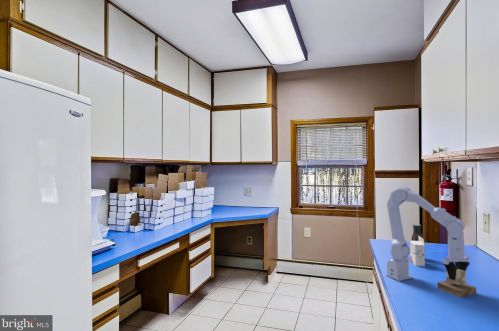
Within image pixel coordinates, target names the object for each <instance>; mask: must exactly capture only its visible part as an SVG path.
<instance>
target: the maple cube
mask: <svg viewBox="0 0 499 331" xmlns="http://www.w3.org/2000/svg"><path fill="white" fill-rule="evenodd" d="M466 271H467V270H466ZM466 271H462V270H459V269H457V271H456V278H455V280H452V279H449V275H448V272H447V270H446V273H445V274H446V280H447V281H449V282H451V283H454V284H457V285H460V284H464V283H465V284H467V272H466Z"/></svg>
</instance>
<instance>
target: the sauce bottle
mask: <svg viewBox="0 0 499 331" xmlns="http://www.w3.org/2000/svg"><path fill="white" fill-rule="evenodd" d="M412 228H413V232H412V234H411V235H412V236H411V238H410V239H411V240H410V241H419V237H418V236H420V237H421V238H422V239H424V236H423V234H422V231H421V229H422V225H421V224H417V223H416V224H415V223H413V224H412ZM421 241H422V240H421Z"/></svg>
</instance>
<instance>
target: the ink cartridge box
mask: <svg viewBox="0 0 499 331" xmlns="http://www.w3.org/2000/svg"><path fill="white" fill-rule="evenodd" d="M418 237H419V241H411V240H409V245H410V247H409V248H410V253H409V255H410V258H409V259H410V262H411V263H412V264H413V265H414V266H415V267H426V263H425V262H426V257H425V255H426V254H425V250H426V249H425V240H424V238H423V239H422V238H421V237H420V236H418ZM421 240H422V241H421Z"/></svg>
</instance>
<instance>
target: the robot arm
mask: <svg viewBox="0 0 499 331" xmlns="http://www.w3.org/2000/svg"><path fill="white" fill-rule="evenodd" d="M404 202H408V203H409V202H410V203H415V204H416V205H417V206H419V207H420V208H422V209H423V210H425V211H427V212H428V213H429V214H430V216H431V217H430V218H432V219H434V220H435V221H436V222H438V223H439V224H440V225H441V226H443V227H445V228H446V230H447V232H448V233H447V234H448V236H447V254H448V255H447V256H446V257H444V258H442V265H443V266H444V267H445V269H446V270H447V272H448V275H449V279H452V280H455V278H456V271H457V269H459V270H462V271H467V268H468V267H469V266H470V255H467V254H465V237H464V236H465V234H464V230H465V227H466V224H465V222H464V221H463V220H462V219H460V218H457V217H456V216H455V215H452V214H450V213H449V212H447V209H445V208H444V207H443V208H442V207H435V206H434V205H433V204H432V203H430V202H429V201H428V200H426V199H424V197H423V196H421V195H419V194H418V193H417V192H416V191H414V190H412V189H411V188H410V187H407V186H403V187H398V188H395V189H393V190H392V191H391V192H390V194H389V198H388V200H387V203H386V206H387V212H388V218H389V225H390V233H391V237H392V241H391V244H390V246H391V249H390V255H391V259H389V260H388V261H387V263H386V269H387V270H386V273H387V274H386V273H385V276H387V277H389V278H391V279H393V280H396V281H399V282H400V281H405V280H411V279H413V278H414V276H412V275H409V274H410V273H409V272H410V271H409V268H410V266H409V264H410V262H409V259H410V258H409V257H408V256H409V255H410V247H409V245H408V242H407V240H406V239H405V235H404V230H403V228H404V227H403V224H402V217H401V216H402V215H401V210H400V206H401V205H402V204H403V203H404Z"/></svg>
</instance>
